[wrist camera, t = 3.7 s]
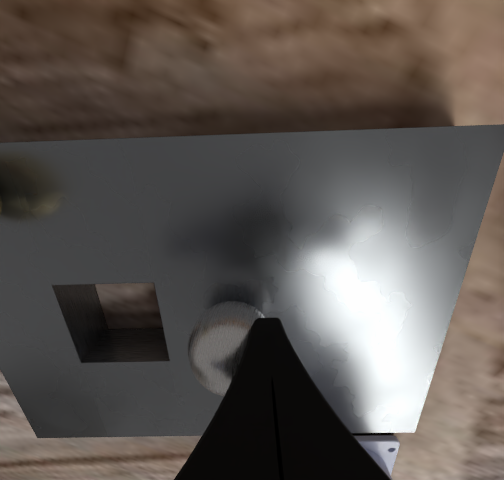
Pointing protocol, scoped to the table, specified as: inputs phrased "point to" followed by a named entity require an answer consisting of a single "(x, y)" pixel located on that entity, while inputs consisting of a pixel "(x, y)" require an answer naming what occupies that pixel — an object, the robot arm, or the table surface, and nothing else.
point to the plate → (235, 266)
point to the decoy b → (0, 205)
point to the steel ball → (220, 343)
